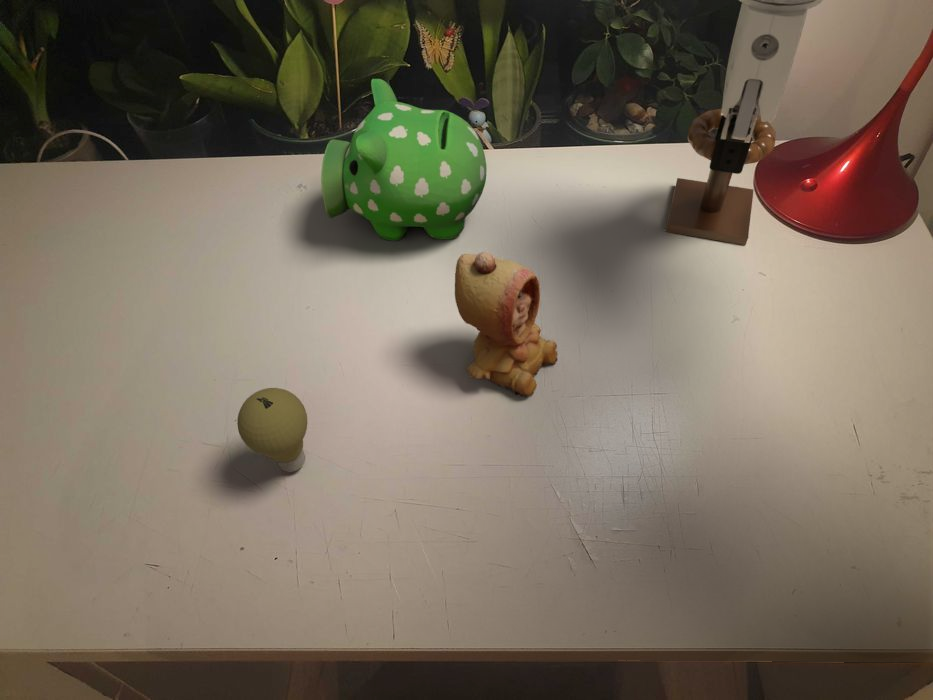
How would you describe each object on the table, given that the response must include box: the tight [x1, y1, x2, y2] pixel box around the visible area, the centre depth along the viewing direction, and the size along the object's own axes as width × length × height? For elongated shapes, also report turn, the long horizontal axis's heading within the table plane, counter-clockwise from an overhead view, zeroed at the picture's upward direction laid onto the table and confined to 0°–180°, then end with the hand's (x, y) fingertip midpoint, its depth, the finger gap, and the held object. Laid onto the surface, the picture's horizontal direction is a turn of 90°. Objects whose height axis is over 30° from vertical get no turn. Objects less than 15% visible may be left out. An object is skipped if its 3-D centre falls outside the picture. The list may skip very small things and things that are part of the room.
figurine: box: [454, 251, 558, 398], centre depth 62 cm, size 10×8×15 cm
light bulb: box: [236, 387, 308, 473], centre depth 57 cm, size 6×6×10 cm
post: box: [665, 168, 754, 246], centre depth 75 cm, size 9×9×9 cm
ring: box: [687, 108, 777, 165], centre depth 70 cm, size 9×9×2 cm
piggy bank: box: [320, 78, 487, 242], centre depth 75 cm, size 14×18×15 cm
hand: (726, 159), depth 69 cm, fingers closed on ring, 2 cm apart
